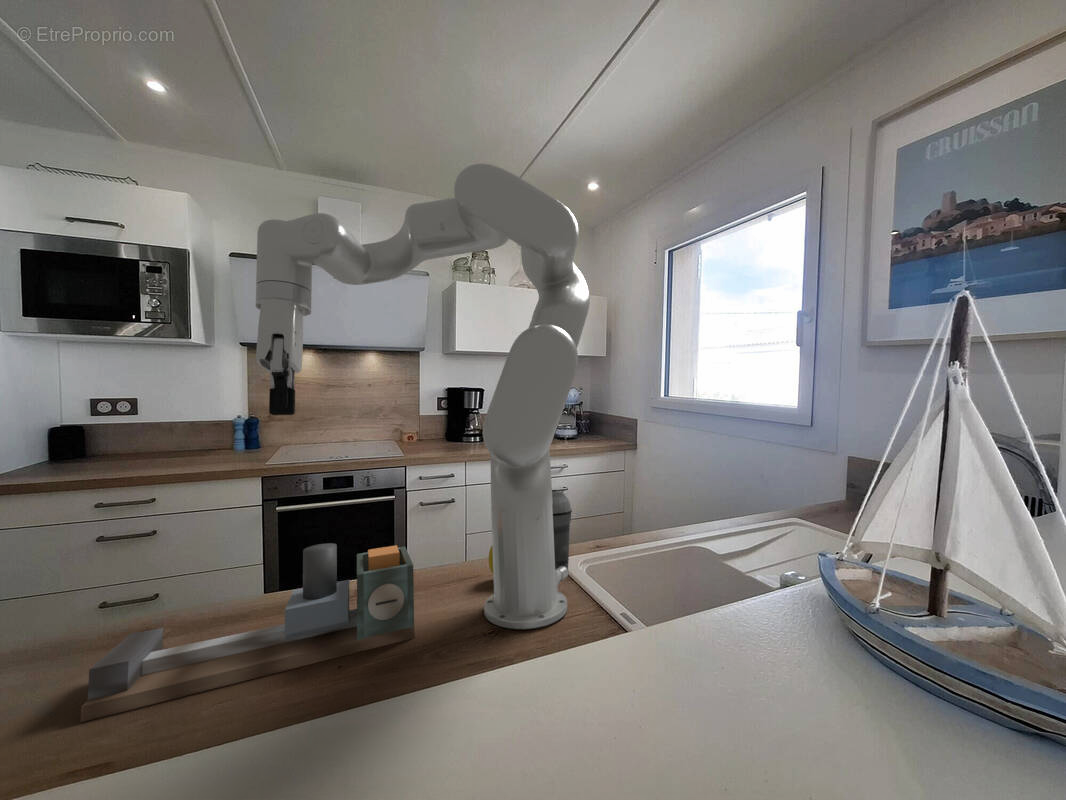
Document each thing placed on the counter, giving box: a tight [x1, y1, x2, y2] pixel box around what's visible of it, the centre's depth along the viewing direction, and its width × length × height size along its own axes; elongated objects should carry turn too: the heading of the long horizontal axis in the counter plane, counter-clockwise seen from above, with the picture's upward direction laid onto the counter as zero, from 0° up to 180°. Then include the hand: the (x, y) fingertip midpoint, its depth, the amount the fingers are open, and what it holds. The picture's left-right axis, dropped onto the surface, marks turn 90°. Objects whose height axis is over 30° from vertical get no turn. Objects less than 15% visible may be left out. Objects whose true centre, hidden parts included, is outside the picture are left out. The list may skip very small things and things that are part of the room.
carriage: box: [284, 542, 350, 640], centre depth 52 cm, size 7×7×10 cm
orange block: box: [367, 544, 400, 571], centre depth 55 cm, size 4×4×4 cm
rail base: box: [80, 546, 415, 723], centre depth 50 cm, size 32×10×10 cm, turn 115°
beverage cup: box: [552, 489, 573, 570], centre depth 74 cm, size 7×7×20 cm
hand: (282, 414), depth 60 cm, fingers closed
